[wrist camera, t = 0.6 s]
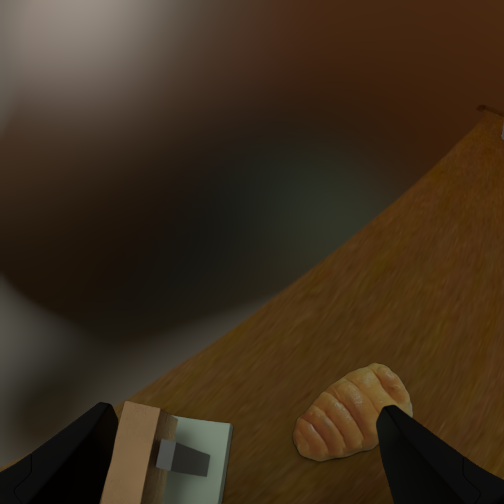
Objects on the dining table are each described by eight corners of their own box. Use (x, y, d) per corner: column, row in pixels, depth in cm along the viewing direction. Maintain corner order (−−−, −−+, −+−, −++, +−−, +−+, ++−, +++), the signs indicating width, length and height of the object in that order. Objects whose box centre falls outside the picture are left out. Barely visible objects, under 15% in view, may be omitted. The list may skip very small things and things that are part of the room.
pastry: (315, 481, 16) (315, 481, 14) (278, 416, 21) (272, 404, 19) (414, 418, 18) (429, 406, 15) (372, 362, 23) (379, 343, 20)
